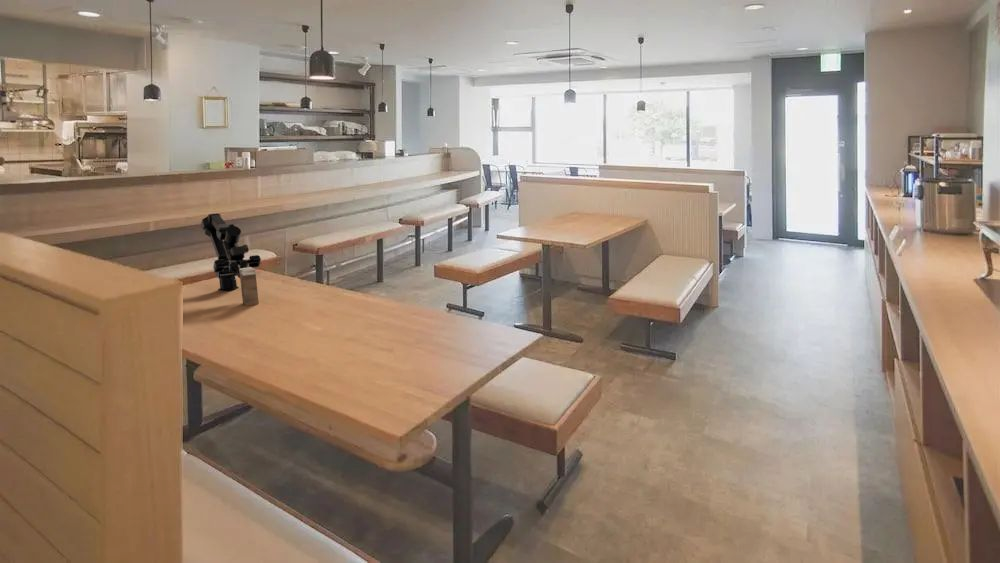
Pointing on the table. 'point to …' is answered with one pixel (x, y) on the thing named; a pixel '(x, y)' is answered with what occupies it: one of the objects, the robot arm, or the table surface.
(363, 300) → the table surface
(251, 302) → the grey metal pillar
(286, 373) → the table surface
